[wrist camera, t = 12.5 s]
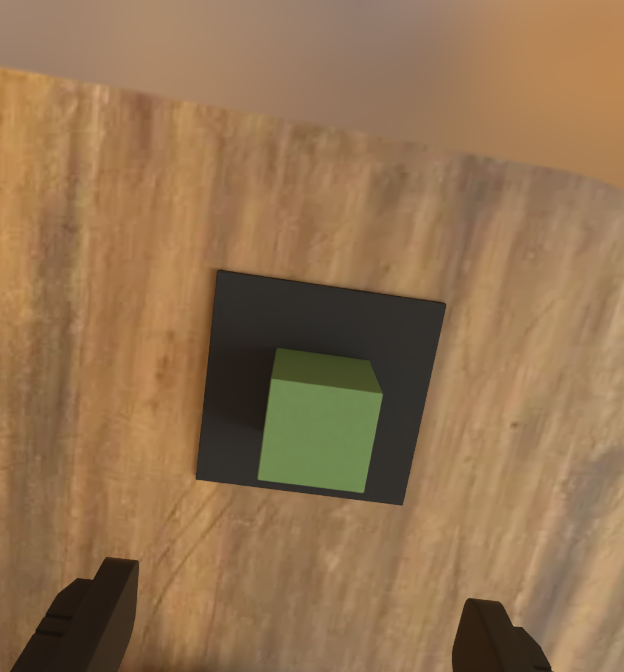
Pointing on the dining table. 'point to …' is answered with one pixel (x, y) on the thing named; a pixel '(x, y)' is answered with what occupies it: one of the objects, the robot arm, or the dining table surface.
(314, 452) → the green cube
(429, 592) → the dining table surface
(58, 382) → the dining table surface
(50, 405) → the dining table surface
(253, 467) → the mat
